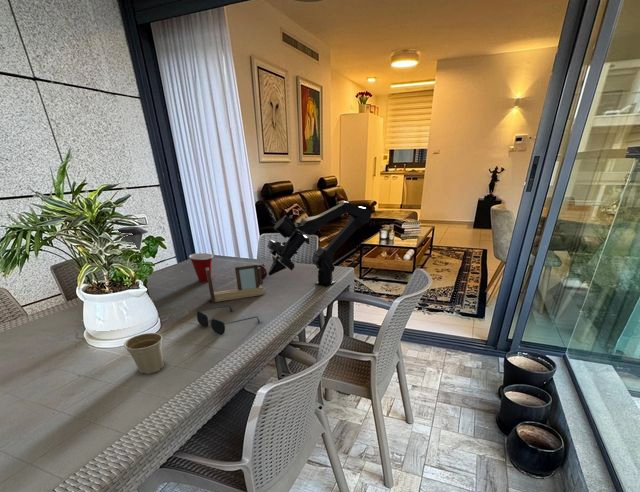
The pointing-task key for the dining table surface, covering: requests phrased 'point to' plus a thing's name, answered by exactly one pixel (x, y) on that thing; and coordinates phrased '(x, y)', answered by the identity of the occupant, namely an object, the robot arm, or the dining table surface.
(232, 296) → the wooden display stand
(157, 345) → the flower pot
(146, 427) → the dining table surface
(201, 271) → the plastic cup
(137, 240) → the solar garden light
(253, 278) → the brown picture frame
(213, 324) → the sunglasses
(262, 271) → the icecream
